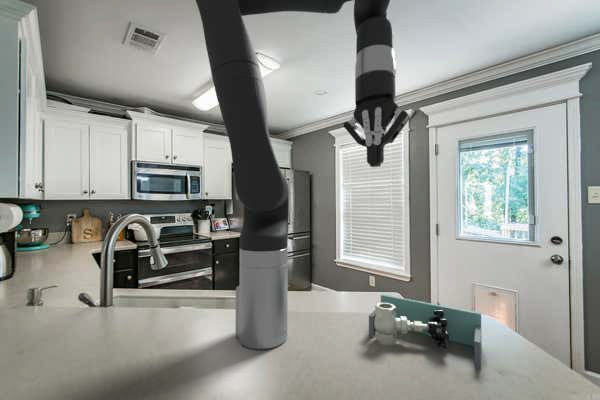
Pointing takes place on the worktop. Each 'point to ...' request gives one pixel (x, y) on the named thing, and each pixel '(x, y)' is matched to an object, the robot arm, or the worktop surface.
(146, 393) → the worktop surface
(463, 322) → the walled bay
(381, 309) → the valve
